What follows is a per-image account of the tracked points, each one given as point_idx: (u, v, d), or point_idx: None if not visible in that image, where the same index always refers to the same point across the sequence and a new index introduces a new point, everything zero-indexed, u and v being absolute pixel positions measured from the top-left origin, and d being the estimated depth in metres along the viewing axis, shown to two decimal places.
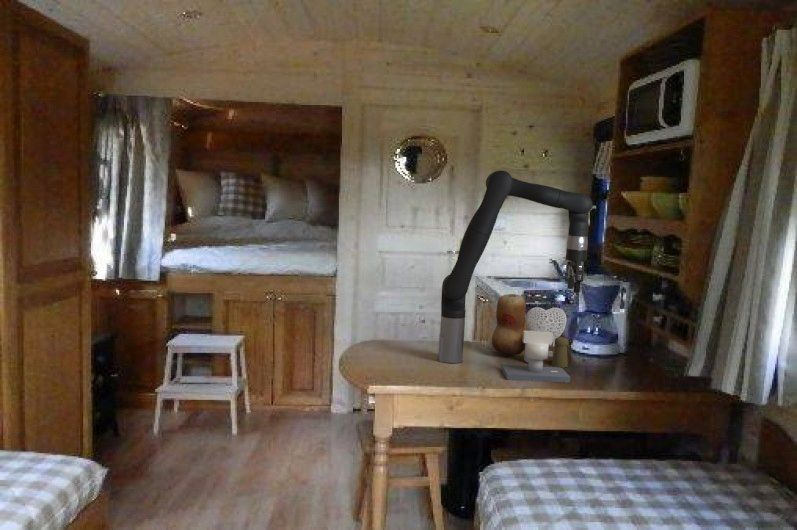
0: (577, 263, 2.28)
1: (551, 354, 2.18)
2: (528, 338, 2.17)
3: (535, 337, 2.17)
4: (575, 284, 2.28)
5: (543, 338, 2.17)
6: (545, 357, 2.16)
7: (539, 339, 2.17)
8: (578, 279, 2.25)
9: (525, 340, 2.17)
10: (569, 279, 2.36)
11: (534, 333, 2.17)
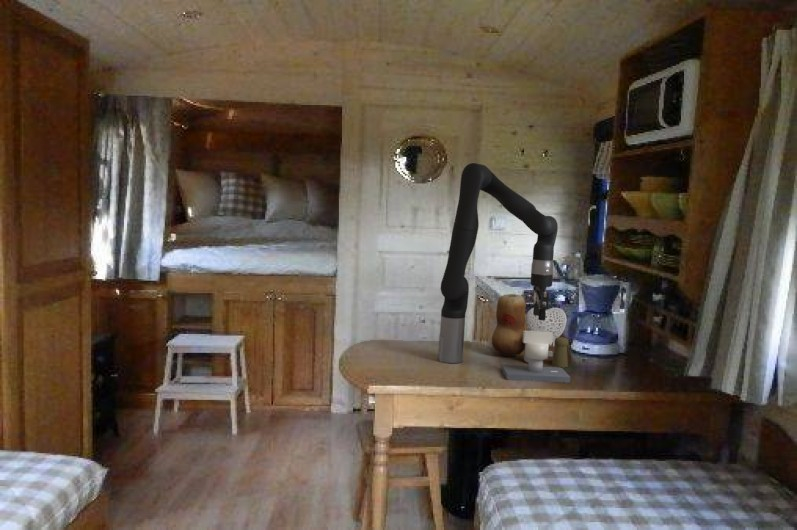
0: (542, 289, 2.13)
1: (551, 354, 2.18)
2: (528, 338, 2.17)
3: (535, 337, 2.17)
4: (540, 311, 2.13)
5: (543, 338, 2.17)
6: (545, 357, 2.16)
7: (539, 339, 2.17)
8: (543, 306, 2.10)
9: (525, 340, 2.17)
10: (535, 305, 2.21)
11: (534, 333, 2.17)
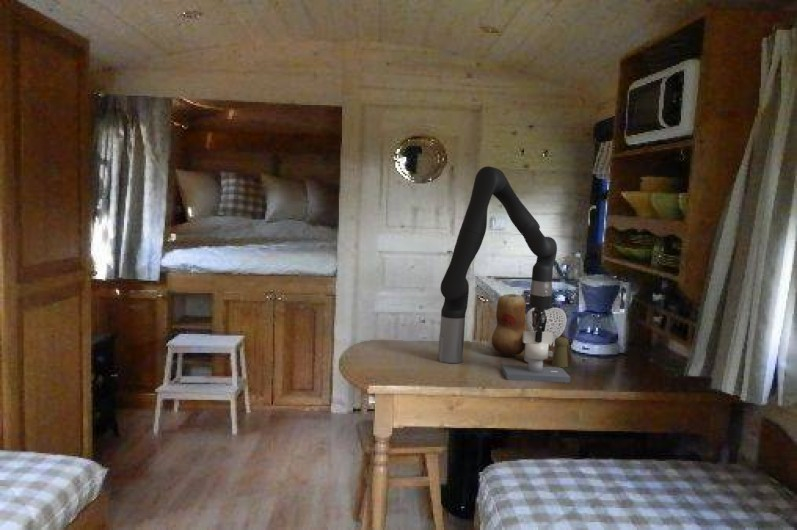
0: (541, 310, 2.13)
1: (551, 354, 2.18)
2: (528, 338, 2.17)
3: None
4: (537, 334, 2.16)
5: (543, 338, 2.17)
6: (545, 357, 2.16)
7: None
8: (539, 329, 2.14)
9: (525, 340, 2.17)
10: (535, 330, 2.19)
11: (534, 333, 2.17)
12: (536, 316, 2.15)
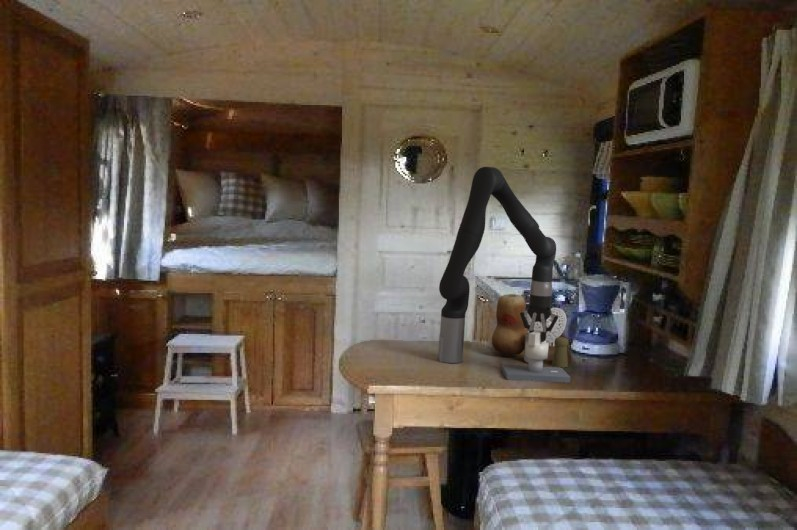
0: (550, 309, 2.15)
1: None
2: (536, 340, 2.15)
3: (539, 338, 2.17)
4: (543, 334, 2.17)
5: None
6: None
7: None
8: None
9: (535, 343, 2.14)
10: (533, 331, 2.18)
11: (539, 334, 2.16)
12: (544, 316, 2.15)
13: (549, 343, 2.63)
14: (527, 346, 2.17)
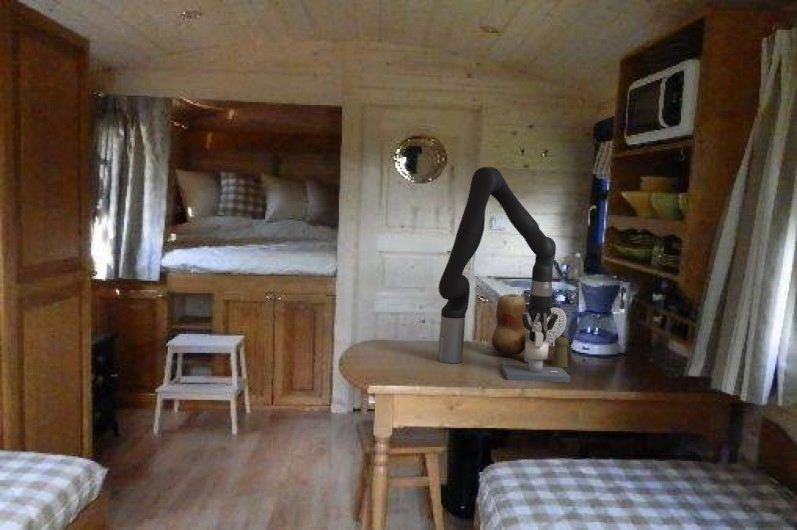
0: None
1: None
2: None
3: None
4: None
5: None
6: None
7: None
8: None
9: (542, 343, 2.14)
10: None
11: (541, 334, 2.17)
12: (546, 316, 2.16)
13: (549, 343, 2.63)
14: (532, 347, 2.15)
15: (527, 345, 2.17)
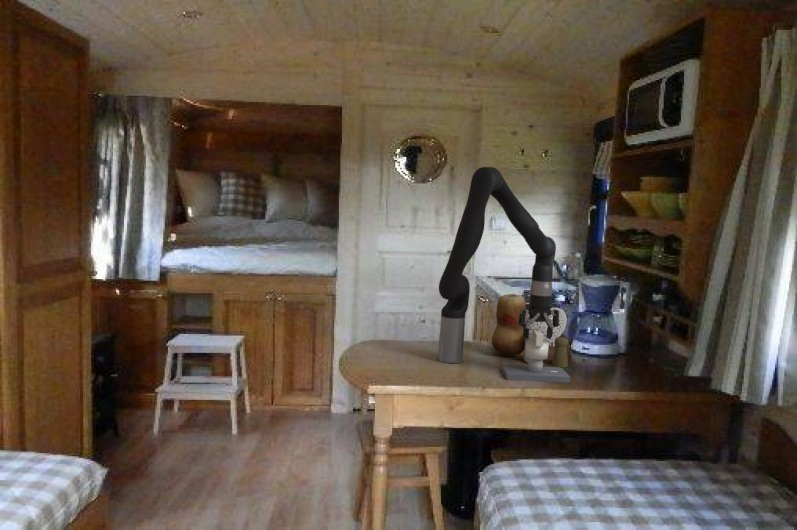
0: None
1: None
2: None
3: None
4: None
5: None
6: None
7: None
8: None
9: None
10: None
11: None
12: (547, 315, 2.16)
13: (549, 343, 2.63)
14: (532, 347, 2.15)
15: (527, 345, 2.17)
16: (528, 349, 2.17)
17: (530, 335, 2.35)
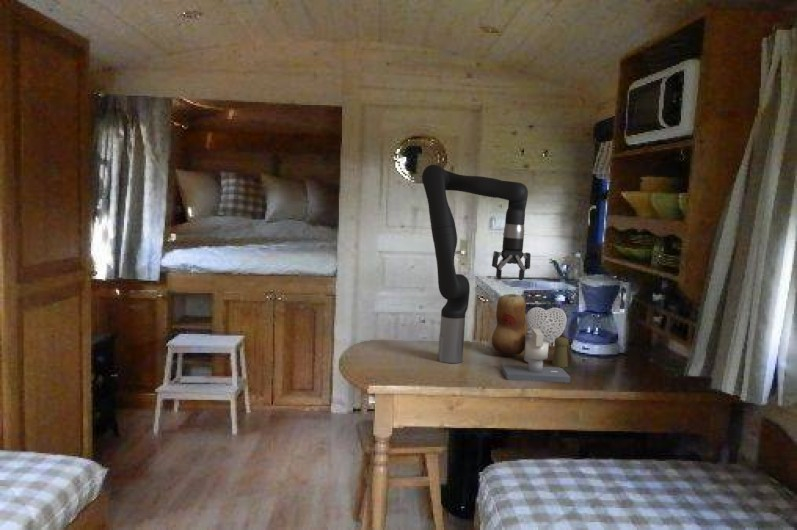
0: None
1: None
2: None
3: None
4: (522, 272, 2.30)
5: None
6: None
7: None
8: None
9: None
10: None
11: None
12: (519, 257, 2.28)
13: (549, 343, 2.63)
14: (532, 347, 2.15)
15: (527, 345, 2.17)
16: (528, 349, 2.17)
17: (530, 335, 2.35)
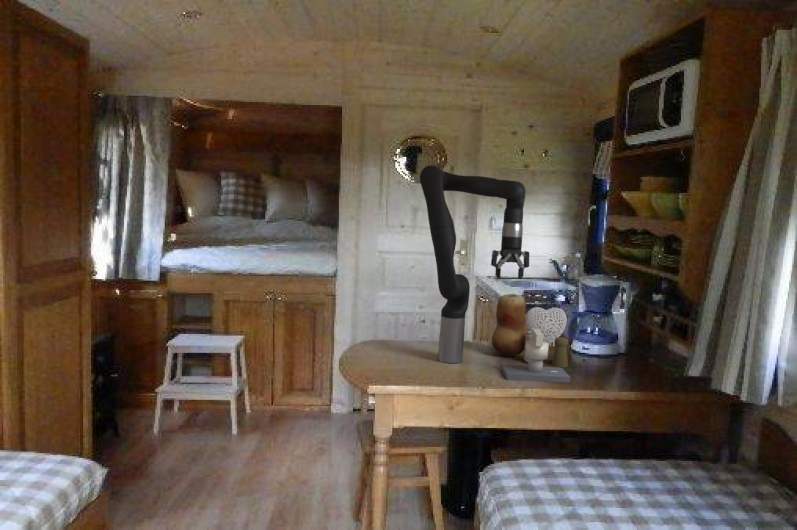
0: None
1: None
2: None
3: None
4: (521, 270, 2.30)
5: None
6: None
7: None
8: None
9: None
10: None
11: None
12: (518, 255, 2.28)
13: (549, 343, 2.63)
14: (532, 347, 2.15)
15: (527, 345, 2.17)
16: (528, 349, 2.17)
17: (530, 335, 2.35)
